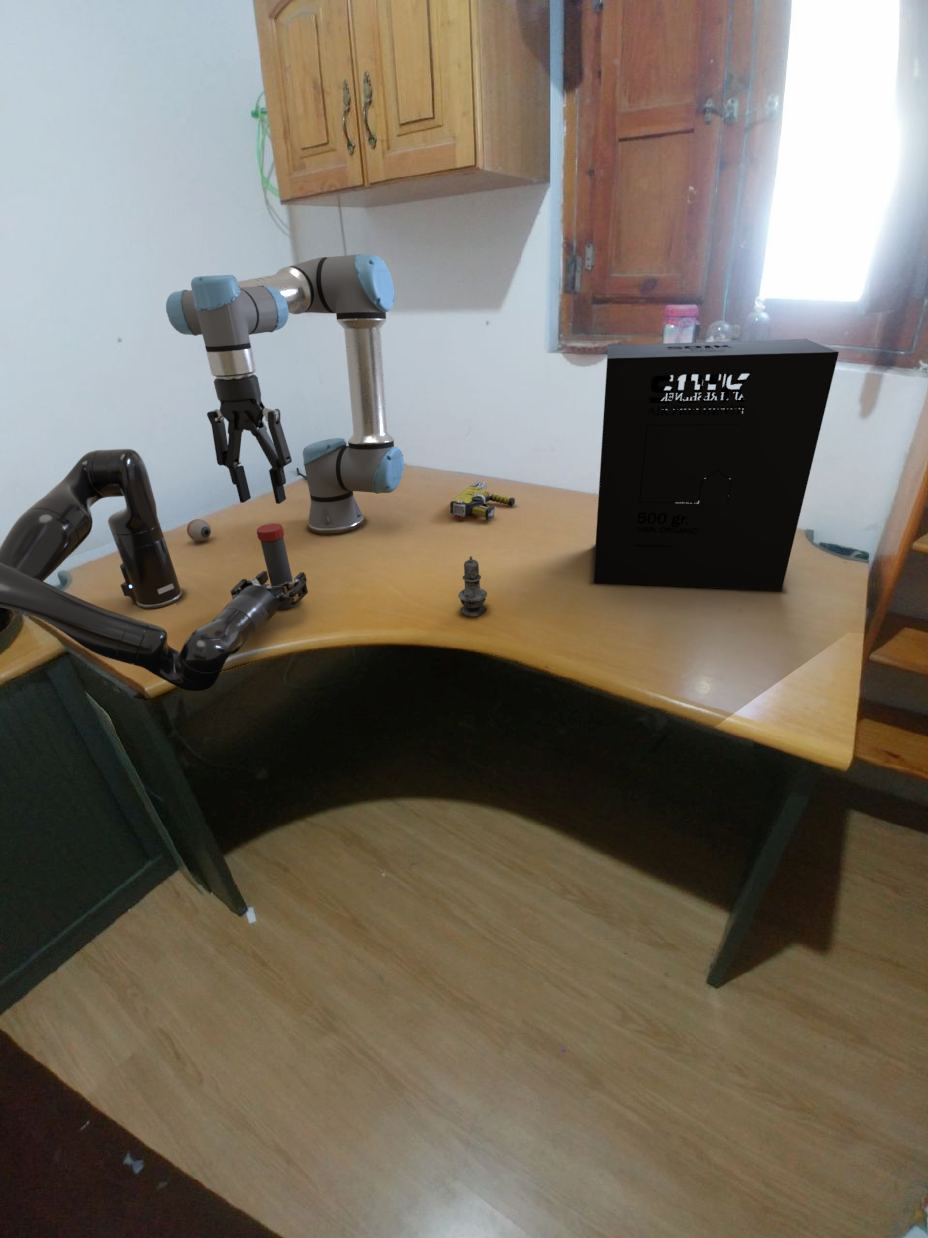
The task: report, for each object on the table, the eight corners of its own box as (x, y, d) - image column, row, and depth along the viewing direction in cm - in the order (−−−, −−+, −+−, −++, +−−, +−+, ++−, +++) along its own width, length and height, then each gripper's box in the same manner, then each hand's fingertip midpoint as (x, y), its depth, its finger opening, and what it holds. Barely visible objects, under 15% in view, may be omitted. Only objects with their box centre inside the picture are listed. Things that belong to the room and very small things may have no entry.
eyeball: (200, 546, 160) (194, 525, 157) (185, 542, 163) (179, 521, 160) (219, 538, 165) (213, 517, 162) (204, 535, 168) (198, 514, 165)
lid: (261, 532, 124) (259, 524, 123) (286, 531, 124) (284, 522, 123) (255, 542, 119) (253, 533, 118) (281, 540, 120) (279, 531, 119)
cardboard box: (760, 550, 140) (805, 338, 118) (781, 591, 123) (838, 351, 101) (595, 545, 148) (608, 345, 125) (593, 582, 131) (607, 358, 108)
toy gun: (523, 485, 181) (476, 478, 185) (501, 509, 161) (448, 500, 165) (521, 500, 184) (475, 493, 187) (499, 525, 163) (447, 517, 167)
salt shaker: (485, 617, 120) (483, 562, 114) (456, 616, 121) (452, 561, 115) (490, 603, 125) (488, 550, 119) (462, 602, 126) (459, 549, 120)
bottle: (278, 600, 131) (261, 526, 123) (299, 599, 131) (283, 525, 123) (274, 610, 127) (256, 535, 119) (295, 609, 128) (279, 533, 119)
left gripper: (219, 628, 117) (257, 589, 131) (287, 631, 115) (319, 592, 129) (209, 594, 114) (250, 558, 127) (279, 596, 111) (313, 560, 125)
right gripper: (296, 371, 107) (318, 495, 119) (198, 373, 112) (228, 493, 123) (275, 378, 101) (301, 508, 112) (172, 380, 105) (207, 505, 117)
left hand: (284, 575), depth 128 cm, fingers open, 8 cm apart
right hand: (263, 500), depth 118 cm, fingers open, 7 cm apart
